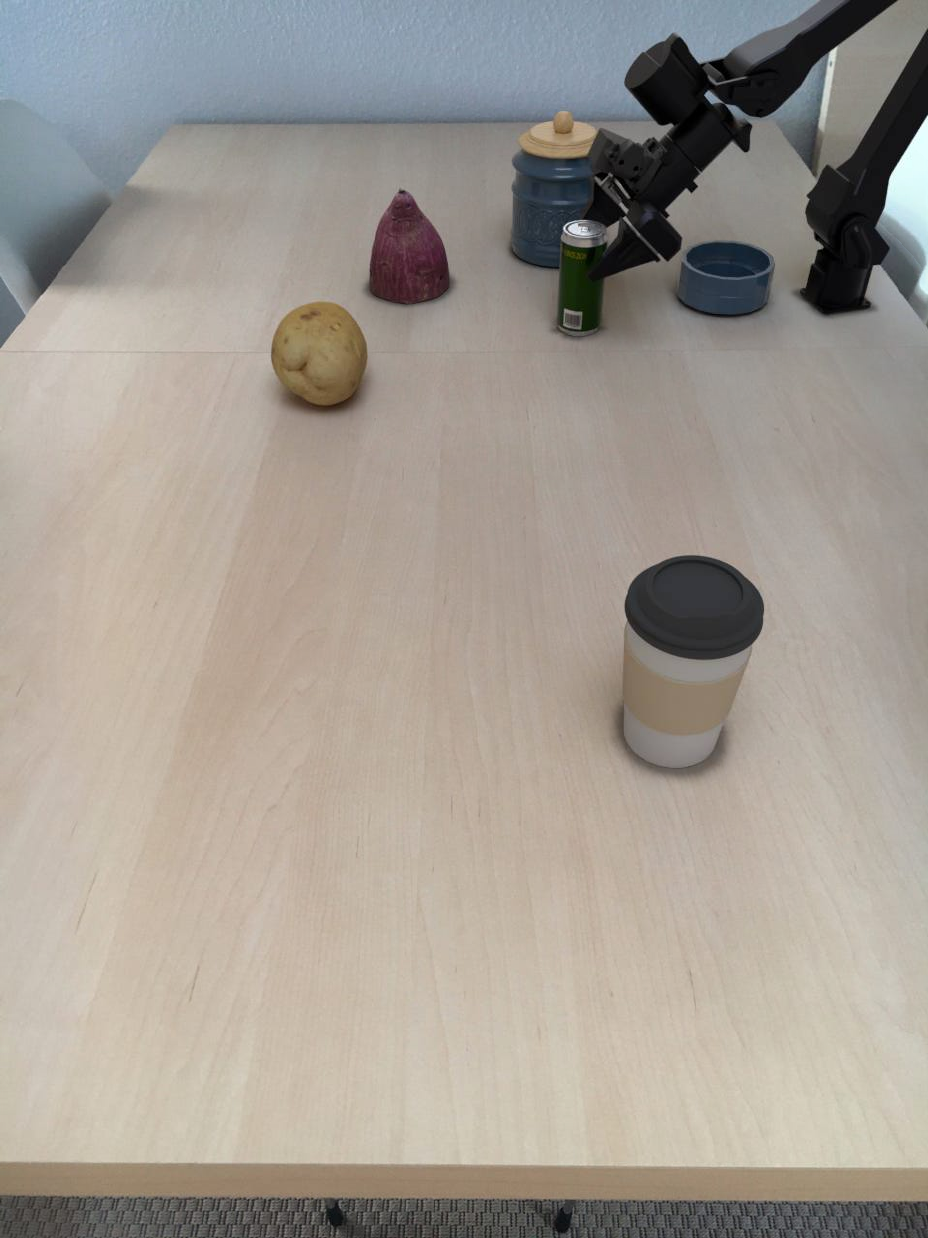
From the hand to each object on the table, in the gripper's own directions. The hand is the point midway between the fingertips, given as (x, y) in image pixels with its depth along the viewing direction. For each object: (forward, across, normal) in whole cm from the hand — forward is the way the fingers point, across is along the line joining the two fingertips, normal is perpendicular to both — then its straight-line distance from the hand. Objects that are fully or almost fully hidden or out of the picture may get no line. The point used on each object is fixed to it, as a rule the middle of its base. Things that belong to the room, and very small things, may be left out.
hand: (579, 261), depth 115 cm
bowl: (-8, -4, +20) cm, 22 cm away
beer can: (+6, 0, +6) cm, 8 cm away
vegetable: (+19, -15, -7) cm, 25 cm away
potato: (+28, +9, -16) cm, 33 cm away
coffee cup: (+12, +63, -1) cm, 64 cm away
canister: (+4, -22, +8) cm, 24 cm away
